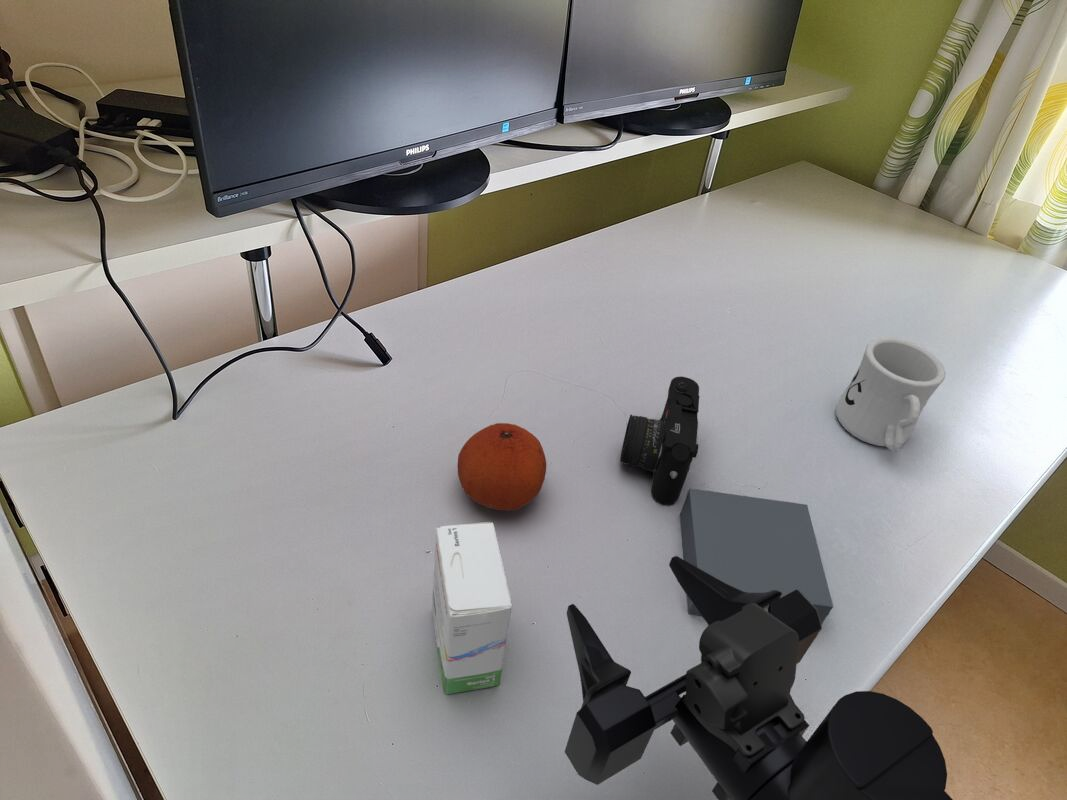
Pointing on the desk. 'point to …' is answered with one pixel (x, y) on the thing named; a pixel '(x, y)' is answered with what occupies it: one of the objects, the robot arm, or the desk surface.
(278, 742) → the desk surface
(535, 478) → the fruit
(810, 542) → the grey block
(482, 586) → the ink box
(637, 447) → the camera
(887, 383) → the mug
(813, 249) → the desk surface
